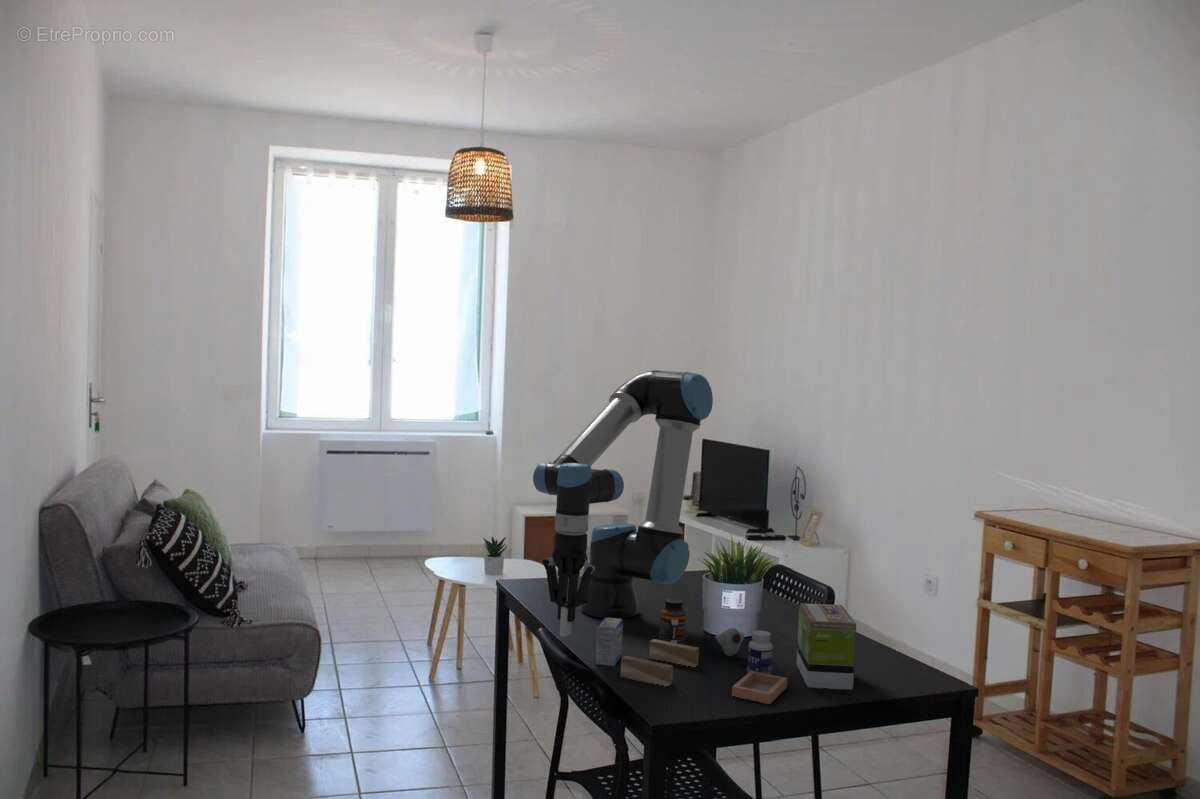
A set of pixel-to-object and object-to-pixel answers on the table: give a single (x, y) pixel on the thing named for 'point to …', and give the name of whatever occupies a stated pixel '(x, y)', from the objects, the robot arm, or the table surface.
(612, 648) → the medicine box
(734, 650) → the pale green rounded piece
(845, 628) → the tea box
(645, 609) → the table surface
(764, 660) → the pill bottle
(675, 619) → the supplement bottle
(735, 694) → the tray
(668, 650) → the parallel beige slabs
